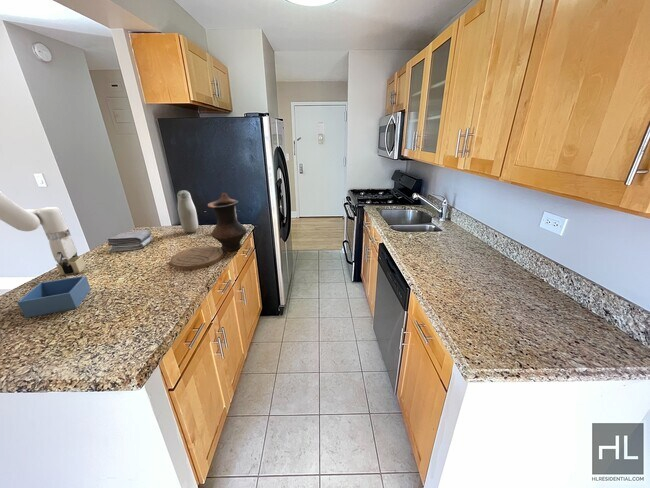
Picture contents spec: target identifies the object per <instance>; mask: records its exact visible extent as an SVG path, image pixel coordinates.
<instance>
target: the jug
mask: <svg viewBox="0 0 650 488" xmlns="http://www.w3.org/2000/svg"><path fill="white" fill-rule="evenodd" d="M237 204H239V200H236V199H234V198H233V199H232V198H231V197H230V196H229V195H228V193H227V192H222V193H221V195H220V197H219V199H217V200H214V201H211V202H209V203H208V204H207V207H208V208H209V209H212V210H213V211H214V215H215V219H216V225H215V227H214V228H213V230H212V232H211V237H212V238H213V239H215V240H217V242H219V243H220V244H221V246H220V248H221V249H222V250H223V252H227V253H228V252H234V251H237V250H239V249H241V248H242V244H241V241H242V239H243V238H244V236H246V234H247V233H248V232H247V228H246V227H245V226H244V225H243V224H241V222H239V221H238V218H237V219H236V216H235V206H236V205H237Z"/></svg>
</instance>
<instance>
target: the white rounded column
mask: <svg viewBox="0 0 650 488" xmlns="http://www.w3.org/2000/svg"><path fill="white" fill-rule="evenodd" d="M191 195H192V194H191V193H190V192H189V191H188V190H185V189H182V190H179V191H178V192H177V194H176V197H177V213H178V217H179V222H180V226H181V228H182V230H183V231H184V232H186V233H189V234H190V233H191V234H193V233H195V232H197V231H198V229H199V219H198V214H197V208H196V206H195V204H194V201H193V199H192V196H191Z"/></svg>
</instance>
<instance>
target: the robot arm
mask: <svg viewBox="0 0 650 488" xmlns="http://www.w3.org/2000/svg"><path fill="white" fill-rule="evenodd" d="M0 221H2V222H4V223H5V224H7V225H8V226H11V227H12V228H13V229H16V230H17V231H20V232H32V231H33V232H34V231H35V230H37V229H38V228H39V227H40V226H41V227H42V229H43V231H44V233H45V236H46V238H47V240H48V245H49V248H50V251H51V254H52V256H53V259H54V260H55V262H56V264H59V265H60V266H61V267H62V269H63V271H64V273H65V274H68V275H71V274H70V273H74V271H73V268H72V266H71V265H70V263H69V259H70V258H73V257H79V256H78V250H77V247H76V244H75V243H74V241H73V239H72V234H71V232H70V230H69V228H68V224H67V222H66V219H65V217H64V214H63V213H62V210H61V208H60V207H58V206H46V207H41V208H29V209H25V208H23V207H22V206H20V205H19V204H18V203H16V202H15V201H13V200H12V199H10V198H9V197H8V196H6V195H5V193H4V192H2V191H1V190H0ZM65 258H66V259H65ZM63 261H66V262H63Z"/></svg>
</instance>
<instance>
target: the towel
mask: <svg viewBox="0 0 650 488" xmlns="http://www.w3.org/2000/svg"><path fill="white" fill-rule="evenodd" d="M151 235H152V232H151V231H150V230H148V229H147V230H146V229H140V230H135V231H130V232H121V233H118V234H117V235H115V236H114V237H107V246H110V247H109V249H108V252H109V253H115V252H126V251H127V252H128V251H136V250H141V249H144V247H145V246H147V245H148V244H150V242H152V241H153V240H154V239H153V237H152V236H151Z"/></svg>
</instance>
